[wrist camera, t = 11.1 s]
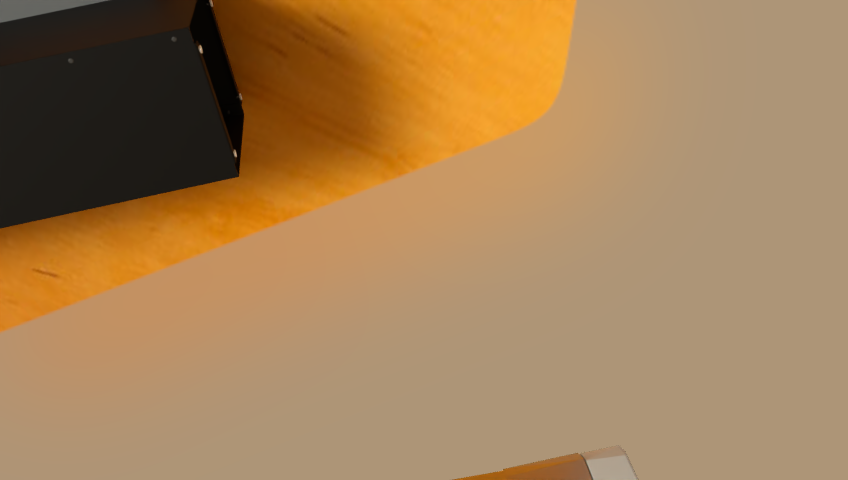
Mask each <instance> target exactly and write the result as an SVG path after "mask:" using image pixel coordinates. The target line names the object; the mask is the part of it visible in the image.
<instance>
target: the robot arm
mask: <svg viewBox="0 0 848 480" xmlns="http://www.w3.org/2000/svg"><path fill="white" fill-rule="evenodd" d="M454 480H638V478H637V475H636V473H635V471H634V469H633V467H632V465H631V463H630V461H629V458H628V456H627V454H626V452H625V451H624V450H623V449H622V448H621V447H620V446H614V447H609V448H604V449H599V450H594V451H589V452H584V453H581V454H578V453H575V454H570V455H566V456H561V457H556V458H552V459H547V460H543V461H538V462H533V463H529V464H524V465H520V466H516V467H511V468H506V469H503V471H499V472H493V473H488V474H482V475H477V476H471V477H466V478H460V479H454Z"/></svg>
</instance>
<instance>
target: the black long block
mask: <svg viewBox="0 0 848 480" xmlns="http://www.w3.org/2000/svg"><path fill="white" fill-rule="evenodd" d="M212 7H213V2H212V0H108V1H103V2H98V3H94V4H89V5H84V6H79V7H74V8H69V9H64V10H60V11H55V12H50V13H45V14H40V15H35V16H31V17H26V18H21V19H16V20H11V21H6V22H2V23H0V228H4V227H9V226H13V225H18V224H23V223H27V222H32V221H36V220H41V219H46V218H50V217H55V216H60V215H64V214H69V213H73V212H78V211H83V210H87V209H92V208H96V207H101V206H106V205H110V204H115V203H120V202H124V201H129V200H133V199H138V198H143V197H147V196H152V195H156V194H161V193H166V192H170V191H175V190H180V189H184V188H189V187H193V186H198V185H203V184H207V183H212V182H216V181H221V180H226V179H230V178H235V177H239V168H240V157H241V145H242V133H243V122H244V112H243V109H242V106H241V104H242V101H241V100H242V96H241V93H240V94H239V92H238V88H237V85H236V82H235V79H234V75H233V72H232V69H231V66H230V63H229V59H228V56H227V53H226V50H225V47H224V43H223V40H222V37H221V34H220V31H219V27H218V24H217V21H216V18H215V15H214V11H213V8H212Z"/></svg>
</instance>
